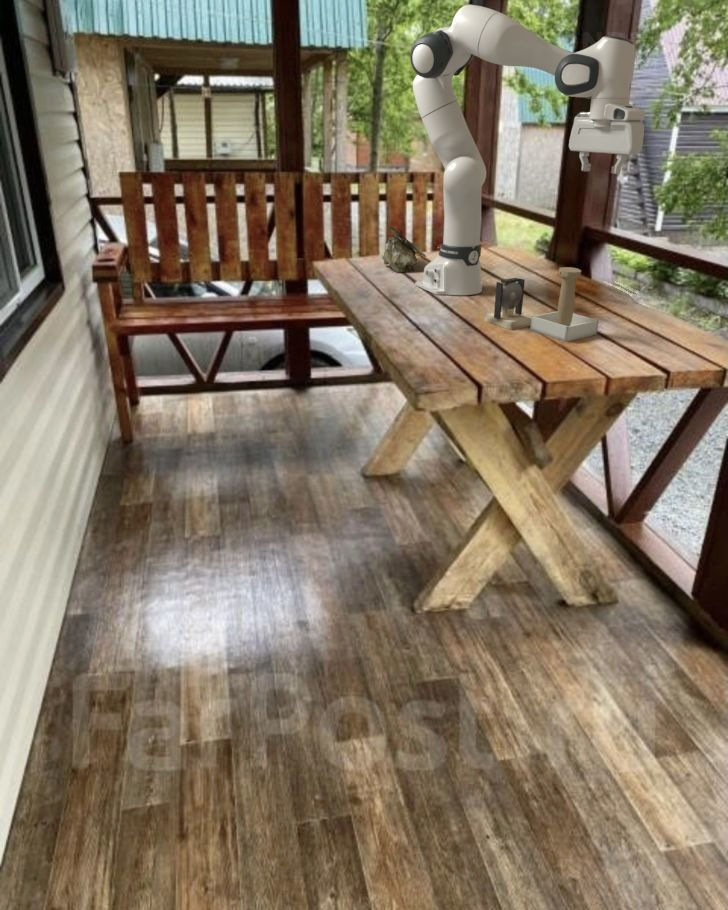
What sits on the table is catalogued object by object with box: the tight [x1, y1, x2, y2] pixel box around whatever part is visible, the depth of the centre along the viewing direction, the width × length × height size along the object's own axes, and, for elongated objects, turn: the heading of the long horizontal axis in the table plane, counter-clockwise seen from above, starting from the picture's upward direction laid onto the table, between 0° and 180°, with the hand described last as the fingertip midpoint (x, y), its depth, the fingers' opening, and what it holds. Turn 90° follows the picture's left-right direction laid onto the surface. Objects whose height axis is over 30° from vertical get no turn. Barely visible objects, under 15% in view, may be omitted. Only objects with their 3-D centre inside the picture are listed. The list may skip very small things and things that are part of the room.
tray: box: [529, 310, 599, 342], centre depth 186 cm, size 12×11×4 cm
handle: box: [557, 266, 582, 326], centre depth 184 cm, size 5×6×15 cm
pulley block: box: [484, 277, 531, 331], centre depth 192 cm, size 10×8×12 cm
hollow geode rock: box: [382, 226, 427, 273], centre depth 262 cm, size 28×13×15 cm
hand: (600, 172), depth 185 cm, fingers open, 8 cm apart
